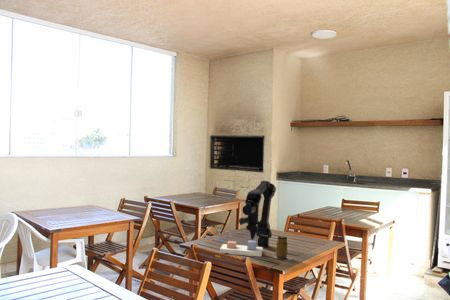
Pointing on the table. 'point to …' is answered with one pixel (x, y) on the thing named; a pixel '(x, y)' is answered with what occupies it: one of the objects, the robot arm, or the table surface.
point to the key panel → (242, 250)
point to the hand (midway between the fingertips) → (252, 239)
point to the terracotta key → (231, 244)
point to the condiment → (282, 248)
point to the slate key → (251, 244)
